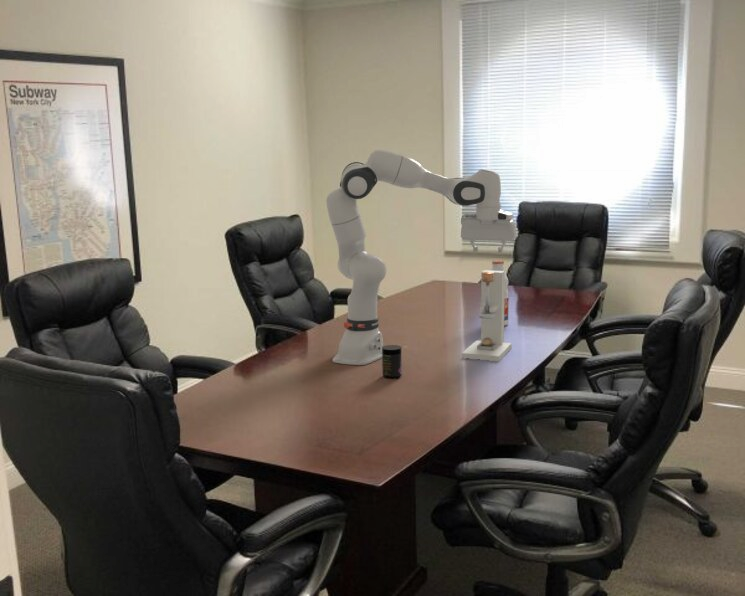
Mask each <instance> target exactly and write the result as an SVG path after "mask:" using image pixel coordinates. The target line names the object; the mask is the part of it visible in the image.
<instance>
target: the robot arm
mask: <svg viewBox="0 0 745 596" xmlns="http://www.w3.org/2000/svg"><path fill="white" fill-rule="evenodd" d="M378 182H383V183H386V184H390V185H393V186H396V187H400V188H404V189H415V188H420V189H421V188H422V189H426V190H429V191H432V192H435V193H438V194H441V195H442V196H444V197H445V198H447V199H448V201H450V202H451V203H452V204H455V205H458V206H460V207H461V206H462V207H470V206H473V205H475V207H476V208H475V213H473V214H472V213H471V214H470V213H469V214H468V213H465V214H464V215H462V216H461V217H460V224H461V228H460V238H461V239H462V240H469V242H470V245H471V247H472V252H473V253H474V252H475V253H478V252H479V246H477V245H476V243H475V242H476V240H480V241H481V240H482V241H501V242H500V243H501V246H500V247H498V248H497V249H498V250H497V253H502V254H503V253H504V247H505V246H506V244H507V241H511V242H513V241H514V240H515V239H516V238H517V229H516V223H515V221H514V220H513V218H514V213H512V212H511V211H508V210H507V211H506V210H504V209H501V207H502V206H501V202H500V199H501V196H502V190H501V189H502V187H501V186H502V184H501V178H500V175H499V173H498V172H497V171H494V170H488V169H479V170H478V171H476V172H475V173H474V174H471V175H469V176H468V177H465V178H464V177H453V178H448V177H446V176H442V175H440V174H436V173H434V172H432V171H429V170H427V169H426V168H424V167H423V166H422V164H421V163H419V162H418V161H416V160H414V159H412V158H411V157H409V156H406V155H403V154H401V153H396V152H393V151H388V150H382V149H376V150H374V151H372V153H370V154H369V157H368V159H367V161H366V163H365V164H364V163H362V162H358V161H353V162H351V163H349V164H347V165H346V166H345V167H344V169H343V170H342V173H341V178H340V183H339V188H337V189H334V190H333V191H331V192H330V193H329V194H328V195H327V197H326V208H327V213H328V217H329V220H330V223H331V227H332V230H333V233H334V236H335V239H336V243H337V247H338V248H337V249H338V260H337V268H338V271H339V272H340V274H341V275H342V276H344V277H345V278H347V279H349V280H352V282H353V283H352V288H351V293H350V294H349V295H348V297H347V319H346V321H345V322H344V323H343V327H344V328H345V331H344V333H343V334H342V335H343V336H342V338H341V340H340V342H339V344H338V352H337V353H336V354H335V356H334V357H333V358H332V362H333V363H336V364H341V365H342V364H343V365H351V366H352V365H353V366H354V365H355V366H356V365H357V366H363V365H364V366H365V365H368V364H371V363H373V362H375V361H378V360H380V359H382V347H383V346H384V340H383V333H382V332H381V331H380V329H379V327H380V326H379V325H380V322H379V321H380V320H379V317H378V295H379V290H380V286H381V283H382V281H383V280H384V279H385V277H386V275H387V266H386V264H385V262H384V261H383V259H381V258H380V257H378V256H377V255H375V254H371V253H368V252H367V250H366V245H365V238H366V237H367V236H366V235H367V232H366V229H365V227H364V223H363V219H362V216H361V214H360V210H359V207H358V204H357V201H358V200H361V199H364V198H366V197H367V196H368V195H369V194H370V193H371V192H372V190H373V189H374V187H375V186H376V185H377V184H378Z"/></svg>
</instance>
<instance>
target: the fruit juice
mask: <svg viewBox="0 0 745 596" xmlns="http://www.w3.org/2000/svg"><path fill="white" fill-rule="evenodd" d="M504 263H505V262H504V260H501V259H494V260H492V261H491V265H492V267H491V271H505V270H504ZM508 286H509V278H508V276H507V274H506V273H505V289H504V327H505V326H508V325H509V300H510V299H509V297H510V296H509V289H508Z"/></svg>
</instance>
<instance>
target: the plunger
mask: <svg viewBox="0 0 745 596" xmlns="http://www.w3.org/2000/svg"><path fill="white" fill-rule="evenodd" d="M481 272H482V271H481ZM482 281H483V282H485V311H484V312H479V314H478V316H479V319H481V318H484V319H492V318H495V317H496V313H495V312H489V308H490V282H493V281H494V273H493V272H482Z"/></svg>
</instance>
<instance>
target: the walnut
mask: <svg viewBox="0 0 745 596" xmlns="http://www.w3.org/2000/svg"><path fill="white" fill-rule="evenodd" d="M492 344H493V342H492V340H491V339H490V338H484V339H483V340H482V345H483V346H487V347H491V346H492Z"/></svg>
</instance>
